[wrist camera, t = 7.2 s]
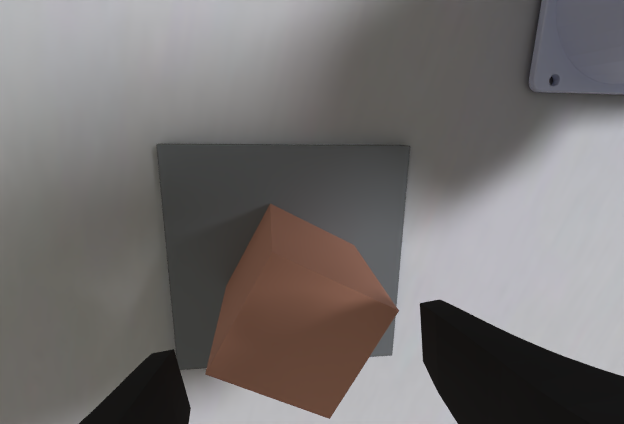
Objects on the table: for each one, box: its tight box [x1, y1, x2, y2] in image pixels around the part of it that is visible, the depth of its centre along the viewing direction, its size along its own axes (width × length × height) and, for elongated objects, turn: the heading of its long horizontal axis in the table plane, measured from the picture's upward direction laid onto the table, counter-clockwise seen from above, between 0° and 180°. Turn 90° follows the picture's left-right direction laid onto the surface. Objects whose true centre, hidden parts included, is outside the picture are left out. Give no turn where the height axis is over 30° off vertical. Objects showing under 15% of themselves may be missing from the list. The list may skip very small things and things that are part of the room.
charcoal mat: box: [157, 144, 410, 370], centre depth 17 cm, size 11×11×1 cm
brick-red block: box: [205, 204, 399, 419], centre depth 14 cm, size 4×4×6 cm
